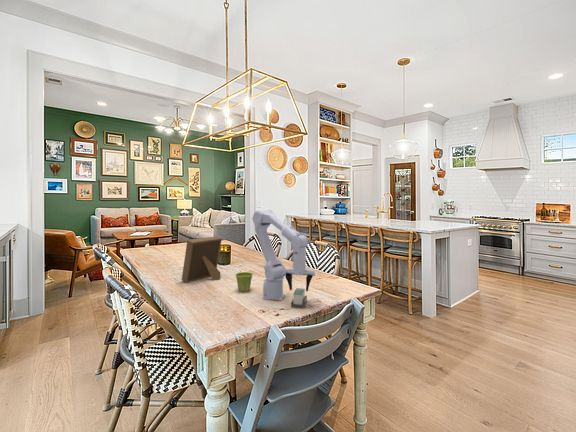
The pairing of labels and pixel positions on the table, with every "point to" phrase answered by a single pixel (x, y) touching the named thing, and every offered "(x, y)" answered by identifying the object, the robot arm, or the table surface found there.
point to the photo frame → (201, 259)
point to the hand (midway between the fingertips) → (298, 290)
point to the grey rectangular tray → (299, 305)
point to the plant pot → (244, 281)
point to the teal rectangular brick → (298, 296)
